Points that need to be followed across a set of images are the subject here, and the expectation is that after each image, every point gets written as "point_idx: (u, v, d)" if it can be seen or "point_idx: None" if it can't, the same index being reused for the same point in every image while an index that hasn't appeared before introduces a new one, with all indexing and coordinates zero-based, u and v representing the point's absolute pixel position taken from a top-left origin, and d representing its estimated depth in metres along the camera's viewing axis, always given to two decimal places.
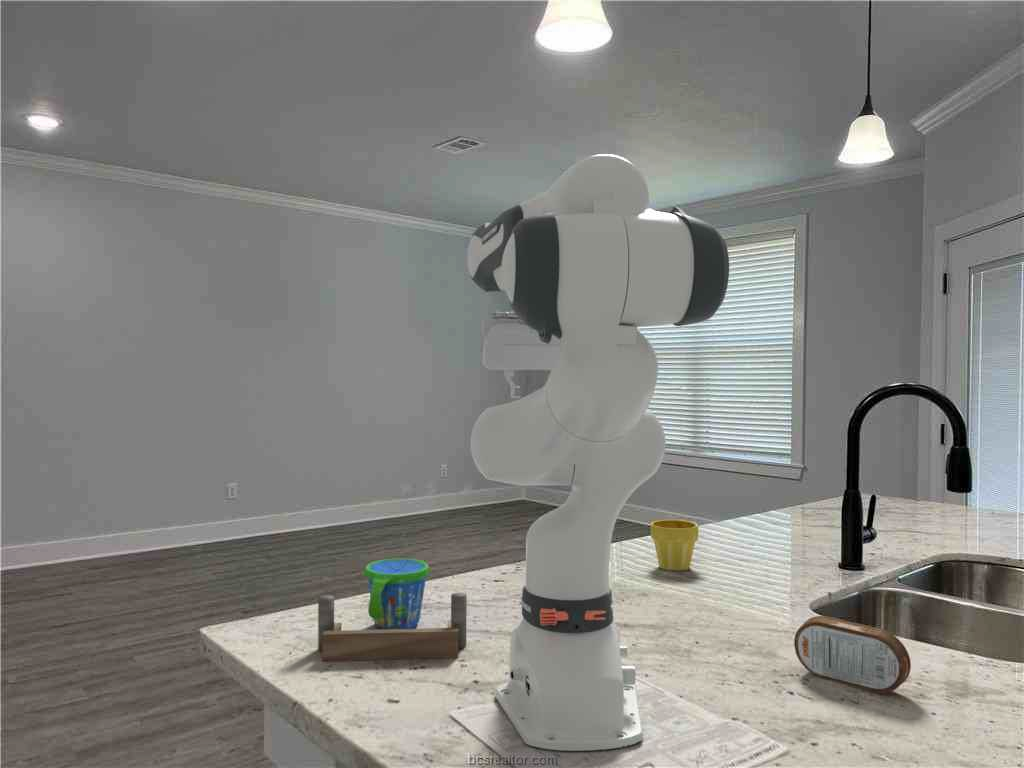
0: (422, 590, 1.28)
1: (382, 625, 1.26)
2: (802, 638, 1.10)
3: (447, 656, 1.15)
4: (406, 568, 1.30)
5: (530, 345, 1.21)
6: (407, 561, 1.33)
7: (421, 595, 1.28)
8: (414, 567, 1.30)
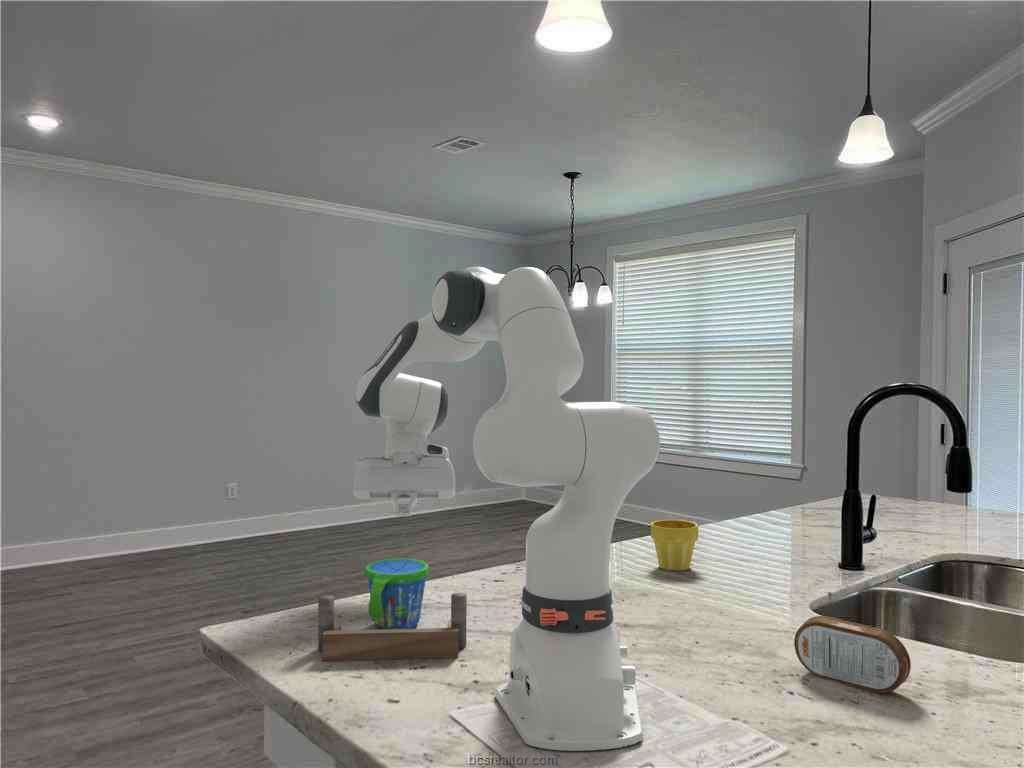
0: (422, 590, 1.28)
1: (382, 625, 1.26)
2: (802, 638, 1.10)
3: (447, 656, 1.15)
4: (406, 568, 1.30)
5: (391, 473, 1.52)
6: (407, 561, 1.33)
7: (421, 595, 1.28)
8: (414, 567, 1.30)
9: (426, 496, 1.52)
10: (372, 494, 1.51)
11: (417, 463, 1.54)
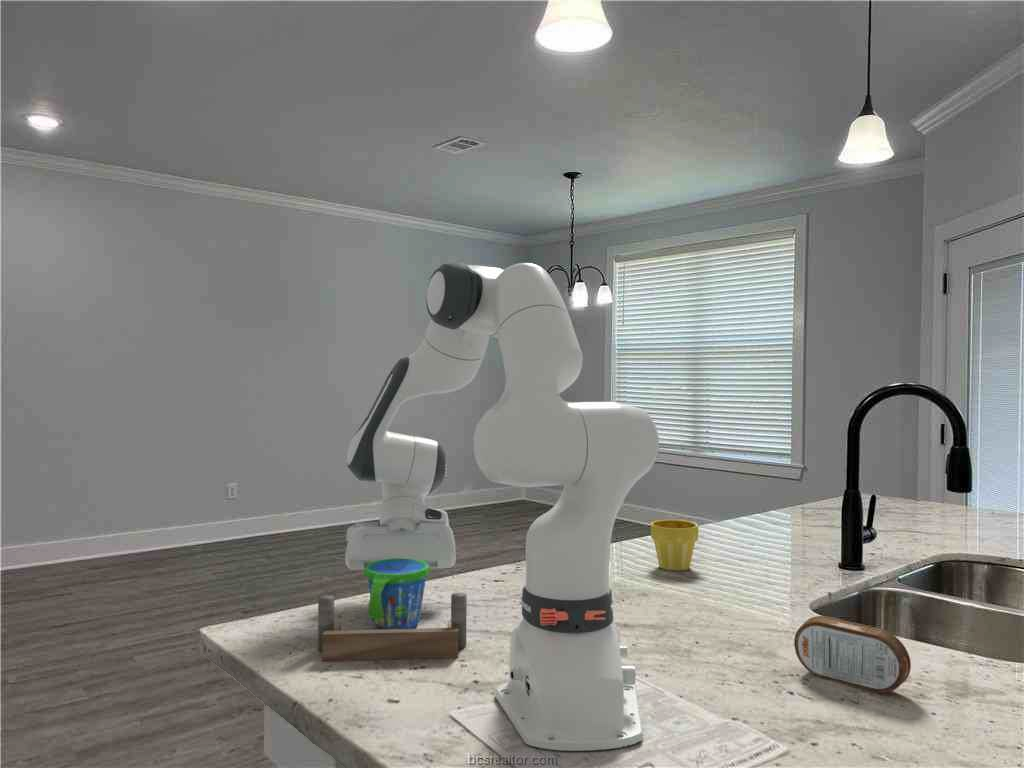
0: (422, 590, 1.28)
1: (382, 625, 1.26)
2: (802, 638, 1.10)
3: (447, 656, 1.15)
4: (406, 568, 1.30)
5: (386, 541, 1.42)
6: (407, 561, 1.33)
7: (421, 595, 1.28)
8: (414, 567, 1.30)
9: None
10: (366, 564, 1.41)
11: (414, 529, 1.43)
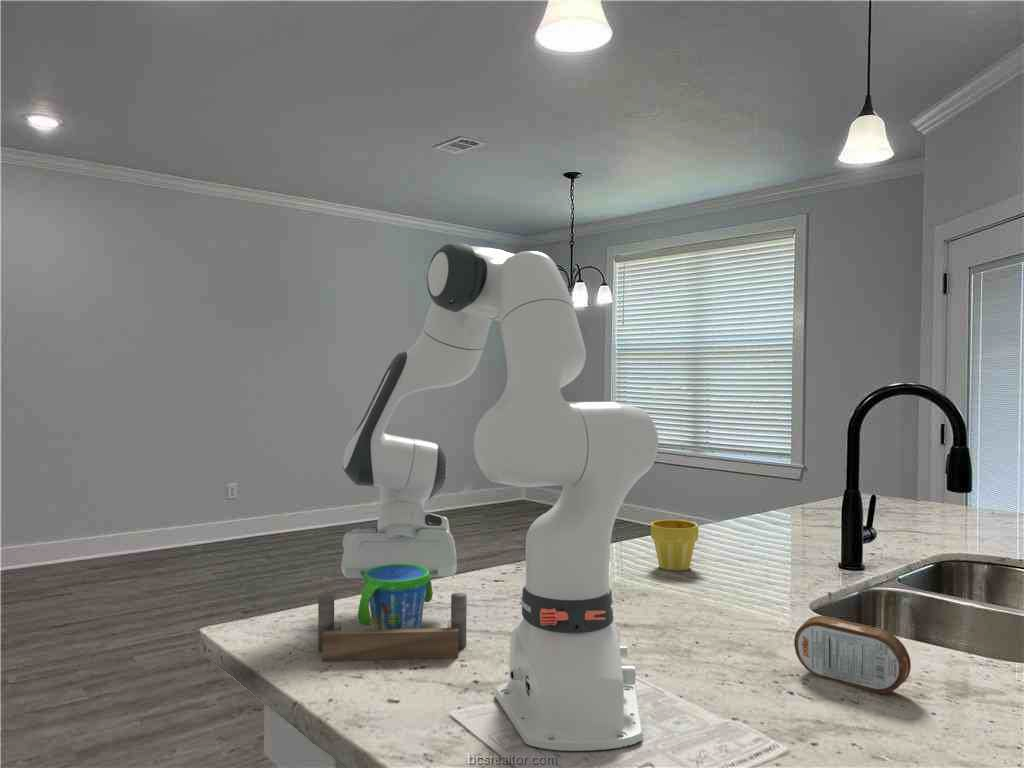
0: (419, 599, 1.23)
1: None
2: (802, 638, 1.10)
3: (447, 656, 1.15)
4: (407, 575, 1.25)
5: (384, 548, 1.36)
6: (413, 568, 1.28)
7: (418, 604, 1.23)
8: (415, 574, 1.25)
9: None
10: (363, 572, 1.35)
11: (414, 536, 1.38)
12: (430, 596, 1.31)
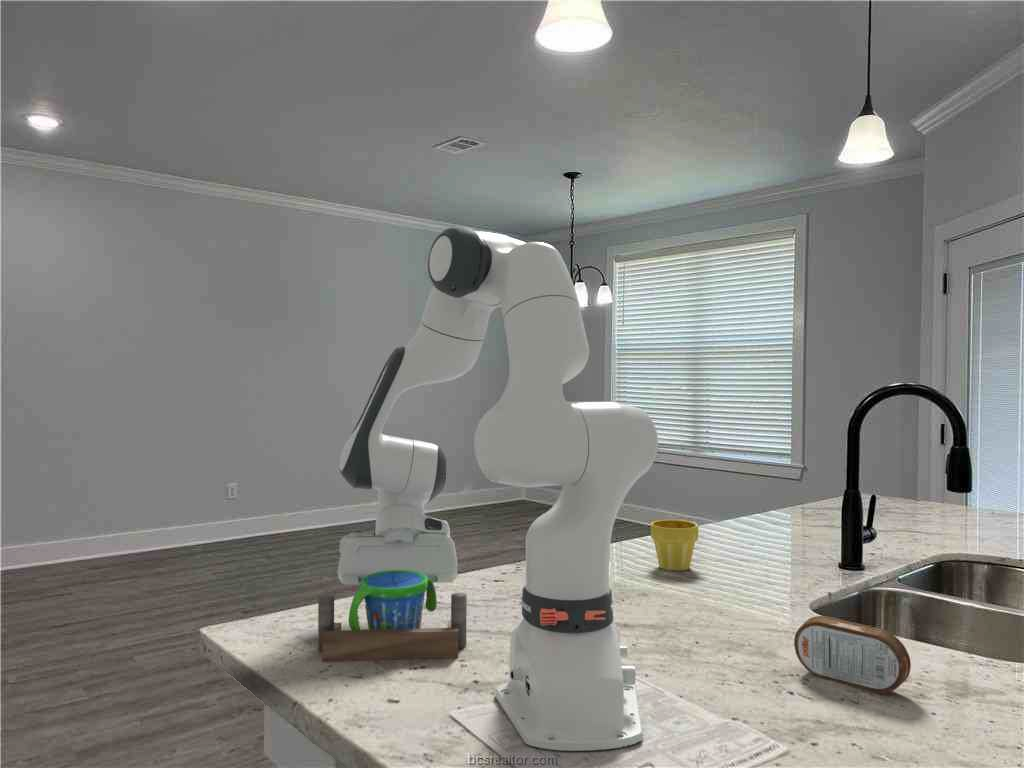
0: (413, 608, 1.18)
1: None
2: (802, 638, 1.10)
3: (447, 656, 1.15)
4: (405, 583, 1.21)
5: (382, 553, 1.31)
6: (415, 575, 1.24)
7: (412, 614, 1.18)
8: (413, 582, 1.21)
9: None
10: (361, 578, 1.30)
11: (413, 541, 1.33)
12: (434, 605, 1.25)
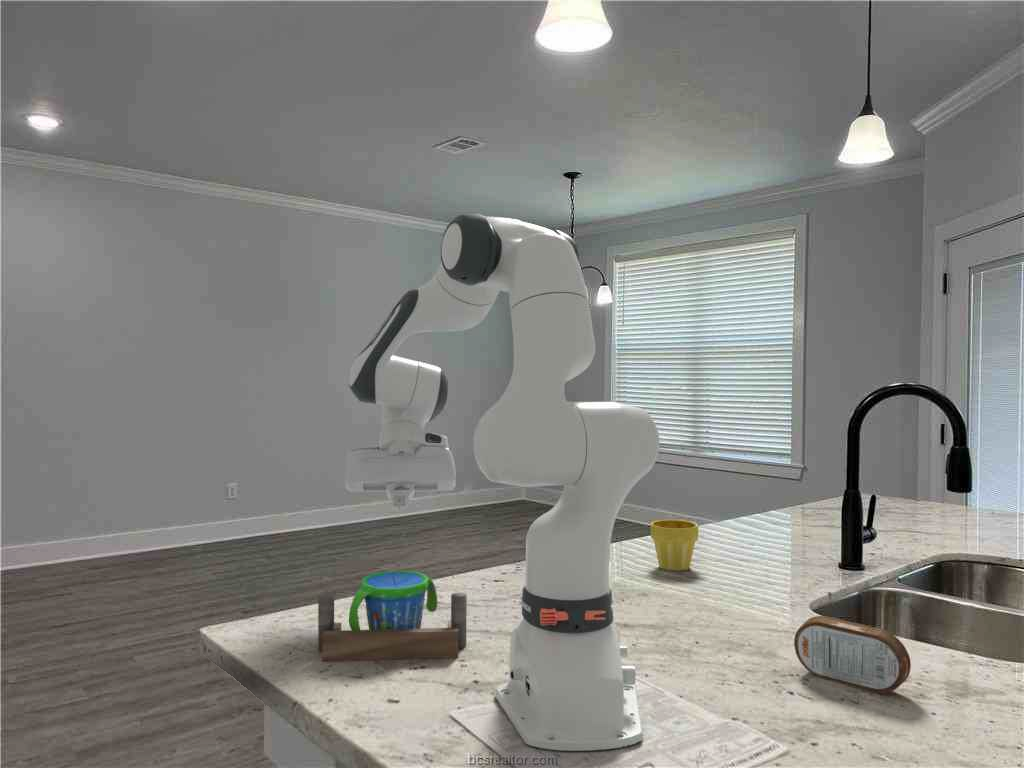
0: (413, 609, 1.18)
1: None
2: (802, 638, 1.10)
3: (447, 656, 1.15)
4: (405, 583, 1.21)
5: (386, 463, 1.41)
6: (415, 575, 1.24)
7: (412, 614, 1.18)
8: (413, 583, 1.20)
9: (424, 488, 1.41)
10: (366, 486, 1.40)
11: (414, 453, 1.43)
12: (435, 606, 1.25)
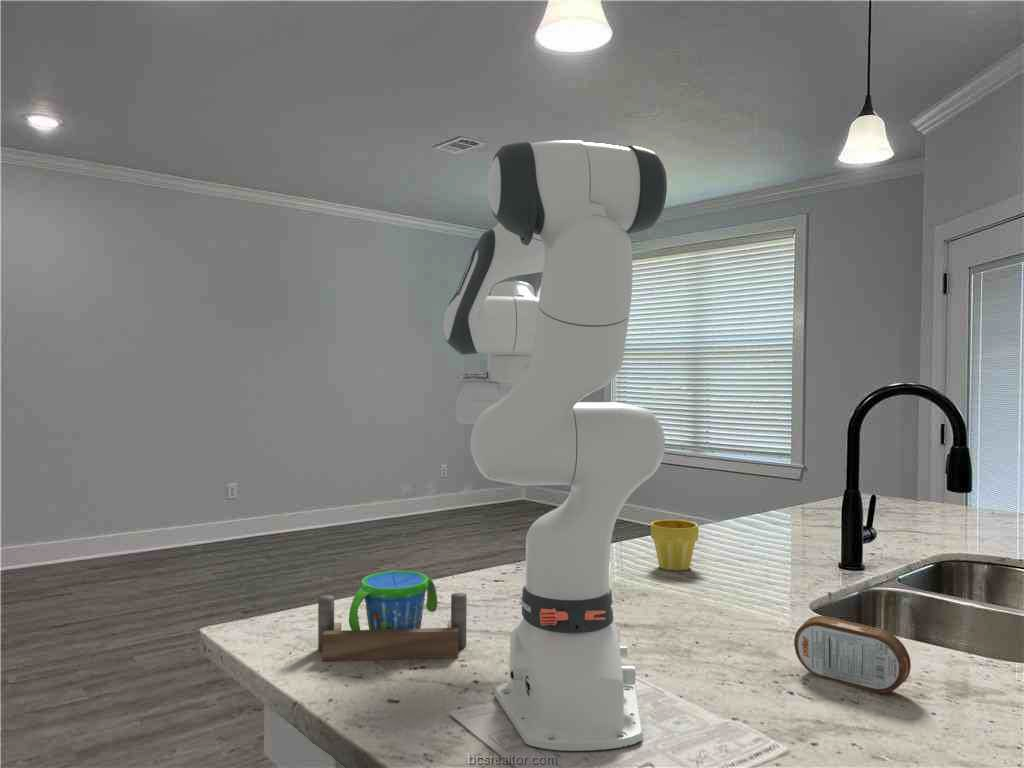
0: (413, 609, 1.18)
1: None
2: (802, 638, 1.10)
3: (447, 656, 1.15)
4: (405, 583, 1.21)
5: (497, 401, 1.37)
6: (415, 575, 1.24)
7: (412, 614, 1.18)
8: (413, 583, 1.20)
9: None
10: None
11: None
12: (435, 606, 1.25)
